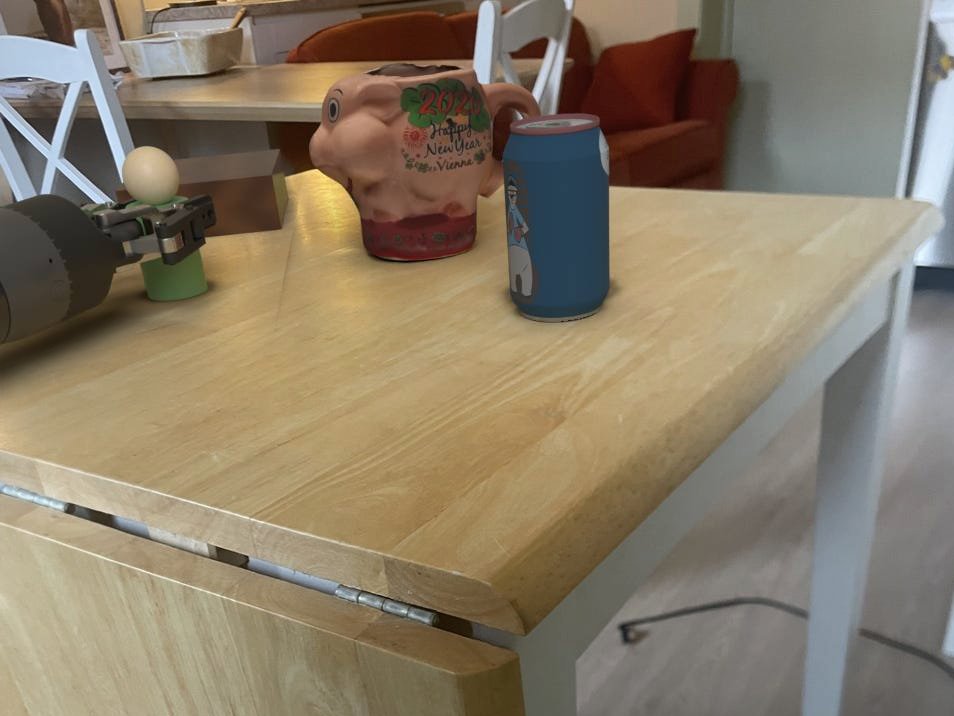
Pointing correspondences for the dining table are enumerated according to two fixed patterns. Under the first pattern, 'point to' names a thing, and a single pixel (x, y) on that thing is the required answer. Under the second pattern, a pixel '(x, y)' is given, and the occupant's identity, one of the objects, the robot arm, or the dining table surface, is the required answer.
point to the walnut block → (235, 190)
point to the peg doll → (157, 185)
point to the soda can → (557, 216)
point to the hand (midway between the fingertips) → (182, 208)
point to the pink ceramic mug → (415, 153)
